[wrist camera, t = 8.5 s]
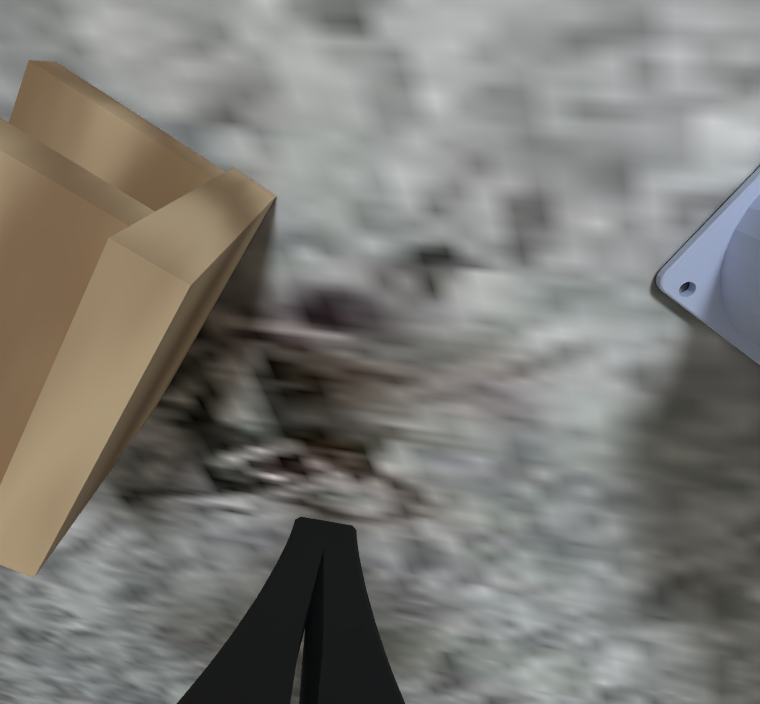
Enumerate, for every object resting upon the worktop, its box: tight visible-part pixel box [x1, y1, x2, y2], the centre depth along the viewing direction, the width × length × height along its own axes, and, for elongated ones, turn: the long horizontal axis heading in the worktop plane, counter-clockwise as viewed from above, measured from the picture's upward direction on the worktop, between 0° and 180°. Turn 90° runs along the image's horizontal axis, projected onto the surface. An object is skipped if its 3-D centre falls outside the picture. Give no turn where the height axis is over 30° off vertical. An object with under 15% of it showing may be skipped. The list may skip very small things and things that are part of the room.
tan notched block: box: [0, 60, 276, 578], centre depth 14 cm, size 8×9×6 cm
